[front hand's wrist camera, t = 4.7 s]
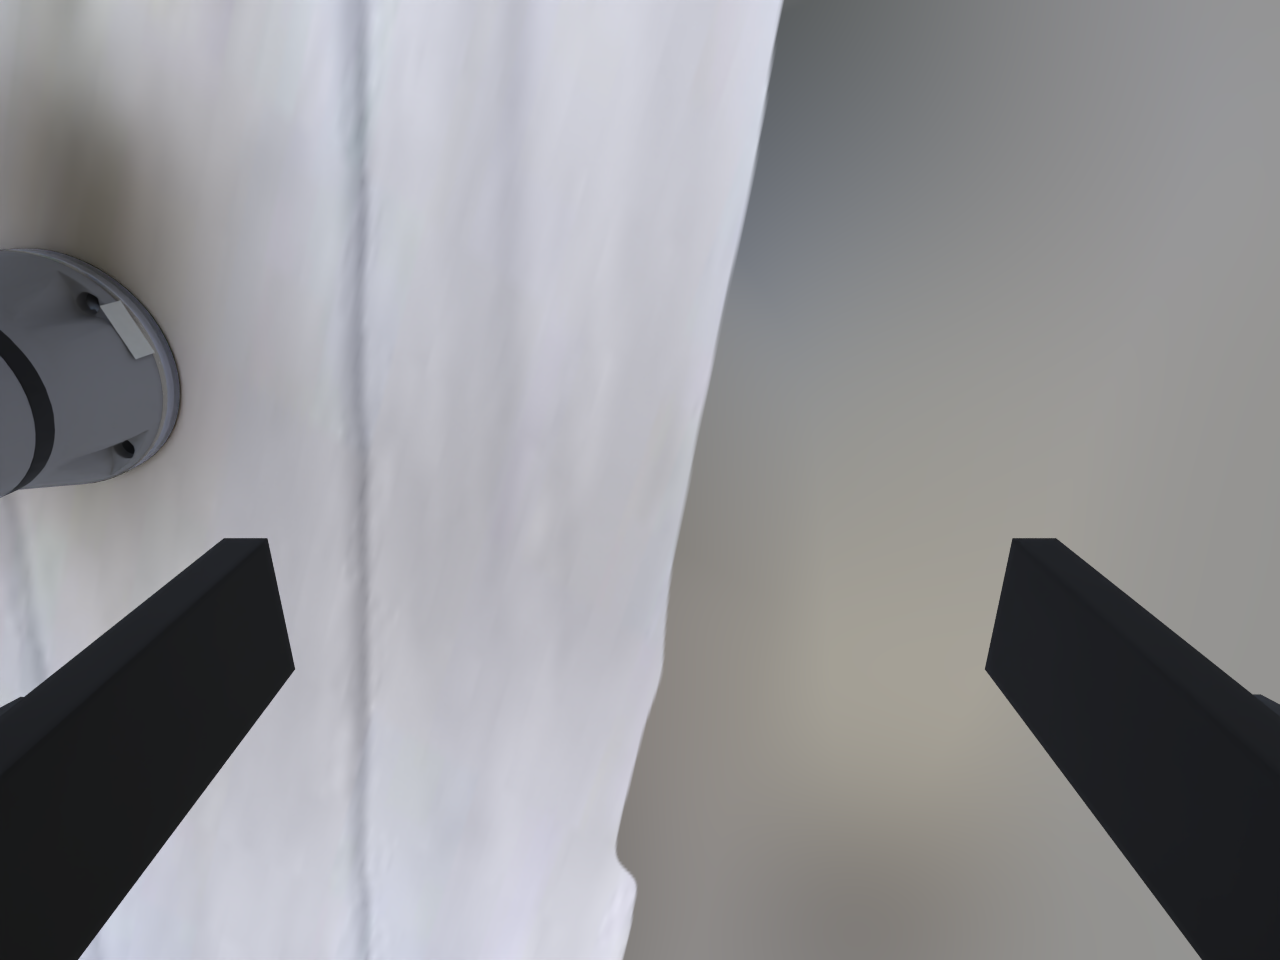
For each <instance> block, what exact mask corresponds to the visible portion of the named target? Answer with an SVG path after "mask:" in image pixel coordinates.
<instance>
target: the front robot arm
mask: <svg viewBox="0 0 1280 960" xmlns="http://www.w3.org/2000/svg"><path fill="white" fill-rule="evenodd" d="M179 400H180V388H179V378H178V372H177V368H176V364H175V360H174V358H173V355H172V352H171V349H170V347H169V345H168V343H167V341H166V339H165V337H164V335H163V333H162V331H161V330H160V328H159V326H158V325H157V323H156V322H155V320H154V319H153V317H152V316H151V315H150V314H149V312H148V311H147V310H146V309H145V307H144V306H143V305H142V304H141V303H140V302H139V301H138V300H137V299H136V298H135V296H133V295H132V294H131V293H130V292H129V291H128V290H127V289H126V288H125V287H124V286H122V285H121V284H120V283H118V282H117V281H116V280H115V279H113V278H112V277H110V276H109V275H107V274H106V273H104V272H103V271H101V270H99V269H97V268H96V267H94V266H92V265H90V264H88V263H86V262H84V261H82V260H79V259H77V258H74V257H71V256H69V255H66V254H62V253H58V252H55V251H49V250H43V249H32V248H22V249H4V250H0V498H1V497H3V496H5V495H7V494H9V493H12V492H14V491H16V490H19V489H30V488H42V487H54V486H65V485H77V484H87V483H95V482H100V481H104V480H107V479H110V478H113V477H116V476H118V475H120V474H122V473H124V472H126V471H128V470H130V469H132V468H134V467H136V466H138V465H140V464H142V463H143V462H145V461H146V460H148V459H149V458H150V457H152V456H153V455H154V454H155V453H156V452H157V451H158V450H159V449H160V448H161V447H162V446H163V444H164V443H165V442H166V440H167V439H168V437H169V435H170V434H171V432H172V429H173V427H174V425H175V422H176V418H177V415H178V409H179ZM294 670H295V667H294V662H293V657H292V652H291V648H290V643H289V638H288V633H287V629H286V624H285V619H284V615H283V610H282V605H281V600H280V596H279V591H278V586H277V581H276V577H275V572H274V567H273V562H272V558H271V553H270V548H269V544H268V539H267V538H224V539H223V540H221V541H220V542H219V543H217V544H216V545H215V546H214V547H212V548H211V549H210V550H209V551H207V552H206V553H205V554H204V555H202V556H201V557H200V558H199V559H197V560H196V561H195V562H194V563H192V564H191V565H190V566H189V567H187V568H186V569H185V570H184V571H182V572H181V573H180V574H178V575H177V576H176V577H175V578H173V579H172V580H171V581H170V582H168V583H167V584H166V585H165V586H163V587H162V588H161V589H160V590H158V591H157V592H156V593H155V594H153V595H152V596H151V597H150V598H148V599H147V600H146V601H145V602H143V603H142V604H141V605H139V606H138V607H137V608H136V609H134V610H133V611H132V612H131V613H129V614H128V615H127V616H126V617H124V618H123V619H122V620H121V621H119V622H118V623H117V624H116V625H114V626H113V627H112V628H111V629H109V630H108V631H107V632H106V633H104V634H103V635H102V636H100V637H99V638H98V639H97V640H95V641H94V642H93V643H92V644H90V645H89V646H88V647H87V648H85V649H84V650H83V651H82V652H80V653H79V654H78V655H77V656H75V657H74V658H73V659H72V660H70V661H69V662H68V663H67V664H65V665H64V666H63V667H61V668H60V669H59V670H58V671H56V672H55V673H54V674H53V675H51V676H50V677H49V678H48V679H46V680H45V681H44V682H43V683H41V684H40V685H39V686H38V687H36V688H35V689H34V690H33V691H31V692H30V693H29V694H28V695H26V696H25V697H19V698H18V699H16V700H14V701H12V702H10V703H8V704H6V705H4V706H2V707H1V708H0V960H78V959H79V958H80V956H81V955H82V954H83V952H84V951H85V950H86V948H87V947H88V946H89V944H90V943H91V942H92V940H93V939H94V938H95V936H96V935H97V934H98V932H99V931H100V930H101V928H102V927H103V926H104V924H105V923H106V922H107V920H108V919H109V917H110V916H111V915H112V913H113V912H114V911H115V909H116V908H117V907H118V905H119V904H120V903H121V901H122V900H123V899H124V897H125V896H126V895H127V893H128V892H129V891H130V889H131V888H132V887H133V885H134V884H135V883H136V881H137V880H138V879H139V877H140V876H141V875H142V873H143V872H144V871H145V869H146V868H147V867H148V865H149V864H150V863H151V861H152V860H153V859H154V857H155V856H156V855H157V853H158V852H159V851H160V849H161V848H162V847H163V845H164V844H165V843H166V841H167V840H168V839H169V837H170V836H171V835H172V833H173V832H174V831H175V829H176V828H177V827H178V825H179V824H180V822H181V821H182V820H183V818H184V817H185V816H186V814H187V813H188V812H189V810H190V809H191V808H192V806H193V805H194V804H195V802H196V801H197V800H198V798H199V797H200V796H201V794H202V793H203V792H204V790H205V789H206V788H207V786H208V785H209V784H210V782H211V781H212V780H213V778H214V777H215V776H216V774H217V773H218V772H219V770H220V769H221V768H222V766H223V765H224V764H225V762H226V761H227V760H228V758H229V757H230V756H231V754H232V753H233V752H234V750H235V749H236V748H237V746H238V745H239V744H240V742H241V741H242V740H243V738H244V737H245V736H246V734H247V733H248V732H249V730H250V729H251V727H252V726H253V725H254V723H255V722H256V721H257V719H258V718H259V717H260V715H261V714H262V713H263V711H264V710H265V709H266V707H267V706H268V705H269V703H270V702H271V701H272V699H273V698H274V697H275V695H276V694H277V693H278V691H279V690H280V689H281V687H282V686H283V685H284V683H285V682H286V681H287V679H288V678H289V677H290V675H291V674H292V673H293V671H294ZM985 670H986V671H987V673H988V674H989V675H990V677H991V678H992V679H993V681H994V682H995V683H996V685H997V686H998V687H999V689H1000V690H1001V691H1002V693H1003V694H1004V695H1005V697H1006V698H1007V699H1008V701H1009V702H1010V703H1011V705H1012V706H1013V707H1014V709H1015V710H1016V711H1017V713H1018V714H1019V715H1020V717H1021V718H1022V719H1023V721H1024V722H1025V723H1026V725H1027V726H1028V727H1029V729H1030V730H1031V731H1032V733H1033V734H1034V736H1035V737H1036V738H1037V739H1038V741H1039V742H1040V744H1041V745H1042V746H1043V747H1044V749H1045V750H1046V752H1047V753H1048V754H1049V756H1050V757H1051V758H1052V760H1053V761H1054V762H1055V764H1056V765H1057V766H1058V768H1059V769H1060V770H1061V772H1062V773H1063V774H1064V776H1065V777H1066V778H1067V780H1068V781H1069V782H1070V784H1071V785H1072V786H1073V788H1074V789H1075V790H1076V792H1077V793H1078V794H1079V796H1080V797H1081V798H1082V800H1083V801H1084V802H1085V804H1086V805H1087V806H1088V808H1089V809H1090V810H1091V812H1092V813H1093V814H1094V816H1095V817H1096V818H1097V820H1098V821H1099V822H1100V824H1101V825H1102V826H1103V828H1104V829H1105V831H1106V832H1107V833H1108V835H1109V836H1110V837H1111V838H1112V840H1113V841H1114V843H1115V844H1116V845H1117V847H1118V848H1119V849H1120V851H1121V852H1122V853H1123V855H1124V856H1125V857H1126V859H1127V860H1128V861H1129V863H1130V864H1131V865H1132V867H1133V868H1134V869H1135V871H1136V872H1137V873H1138V875H1139V876H1140V877H1141V879H1142V880H1143V881H1144V883H1145V884H1146V885H1147V887H1148V888H1149V889H1150V891H1151V892H1152V893H1153V895H1154V896H1155V897H1156V899H1157V900H1158V901H1159V903H1160V904H1161V905H1162V907H1163V908H1164V909H1165V911H1166V912H1167V913H1168V915H1169V916H1170V917H1171V919H1172V920H1173V921H1174V923H1175V924H1176V926H1177V927H1178V928H1179V930H1180V931H1181V932H1182V934H1183V935H1184V936H1185V938H1186V939H1187V940H1188V942H1189V943H1190V944H1191V946H1192V947H1193V948H1194V950H1195V951H1196V952H1197V954H1198V955H1199V956H1200V958H1201V959H1202V960H1280V704H1278V703H1276V702H1274V701H1272V700H1270V699H1268V698H1266V697H1264V696H1263V695H1252V694H1251V693H1250V692H1249V691H1247V690H1246V689H1245V688H1244V687H1242V686H1241V685H1240V684H1239V683H1237V682H1236V681H1235V680H1234V679H1232V678H1231V677H1230V676H1229V675H1227V674H1226V673H1225V672H1223V671H1222V670H1221V669H1220V668H1219V667H1217V666H1216V665H1215V664H1213V663H1212V662H1211V661H1210V660H1208V659H1207V658H1206V657H1205V656H1203V655H1202V654H1201V653H1200V652H1198V651H1197V650H1196V649H1195V648H1193V647H1192V646H1191V645H1190V644H1188V643H1187V642H1186V641H1185V640H1183V639H1182V638H1181V637H1179V636H1178V635H1177V634H1176V633H1174V632H1173V631H1172V630H1171V629H1169V628H1168V627H1167V626H1166V625H1164V624H1163V623H1162V622H1161V621H1159V620H1158V619H1157V618H1156V617H1154V616H1153V615H1152V614H1151V613H1149V612H1148V611H1147V610H1145V609H1144V608H1143V607H1142V606H1141V605H1139V604H1138V603H1137V602H1135V601H1134V600H1133V599H1132V598H1130V597H1129V596H1128V595H1127V594H1125V593H1124V592H1123V591H1122V590H1120V589H1119V588H1118V587H1117V586H1115V585H1114V584H1113V583H1112V582H1110V581H1109V580H1108V579H1107V578H1105V577H1104V576H1103V575H1102V574H1100V573H1099V572H1098V571H1096V570H1095V569H1094V568H1093V567H1091V566H1090V565H1089V564H1088V563H1086V562H1085V561H1084V560H1083V559H1081V558H1080V557H1079V556H1078V555H1076V554H1075V553H1074V552H1073V551H1071V550H1070V549H1069V548H1067V547H1066V546H1065V545H1064V544H1063V543H1061V542H1060V541H1059V540H1057V539H1056V538H1013V539H1012V544H1011V548H1010V553H1009V558H1008V563H1007V567H1006V572H1005V577H1004V581H1003V586H1002V591H1001V596H1000V600H999V605H998V610H997V614H996V619H995V624H994V629H993V633H992V638H991V643H990V648H989V653H988V657H987V662H986V667H985Z"/></svg>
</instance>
